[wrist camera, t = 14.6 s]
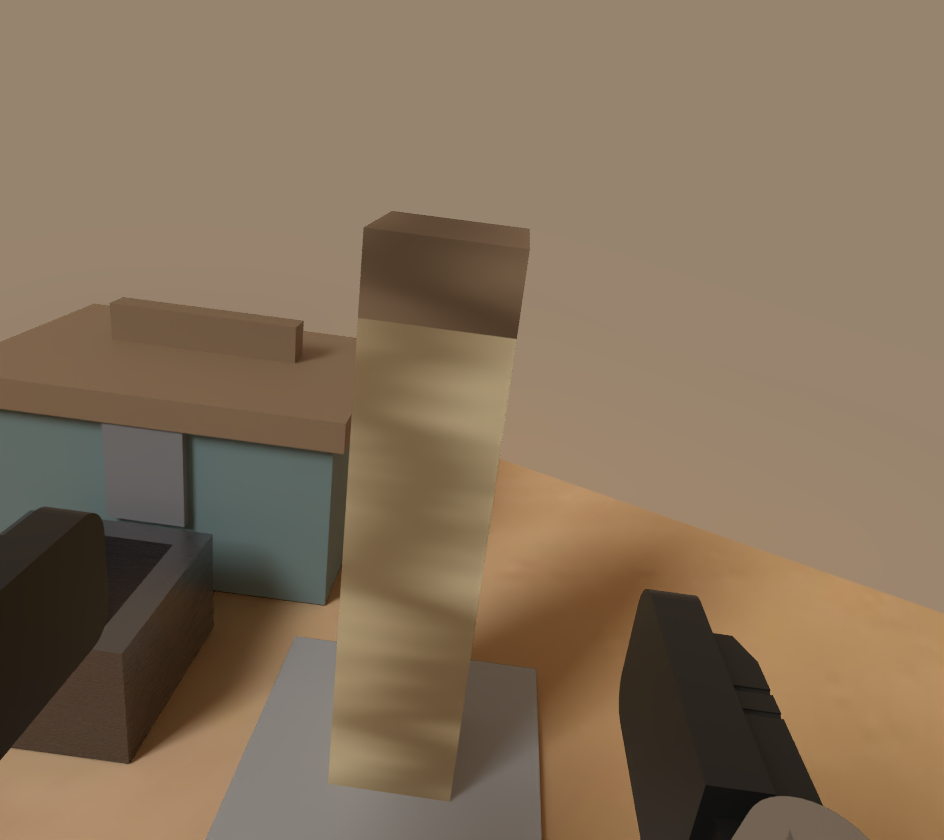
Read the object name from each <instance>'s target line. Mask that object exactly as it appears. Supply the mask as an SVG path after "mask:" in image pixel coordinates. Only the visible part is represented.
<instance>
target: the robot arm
mask: <svg viewBox="0 0 944 840" xmlns="http://www.w3.org/2000/svg"><path fill="white" fill-rule="evenodd" d="M108 609H109V596H108V580H107V565H106V549H105V533H104V525H103V521H102V519H101V517H100V516H99V515H98V514H96V513H90V512H83V511H76V510H68V509H61V508H53V507H41V508H38V509H37V510H35V511H34V512H33V513H31V514H30V515H29V516H27V517H26V518H25V519H24V520H22V521H21V522H20V523H18V524H17V525H16V526H15V527H13V528H12V529H11V530H9V531H8V532H7V533H6V534H4V535H0V760H1V759H2V758H3V756H4V755H5V754H6V753H7V752H8V750H9V749H10V748H11V747H12V746H13V744H14V743H15V742H16V741H17V740H18V738H19V737H20V736H21V735H22V733H23V732H24V731H25V730H26V729H27V727H28V726H29V725H30V724H31V723H32V721H33V720H34V719H35V718H36V717H37V715H38V714H39V713H40V712H41V711H42V709H43V708H44V707H45V706H46V705H47V703H48V702H49V701H50V700H51V698H52V697H53V696H54V695H55V694H56V692H57V691H58V690H59V689H60V688H61V686H62V685H63V684H64V683H65V682H66V680H67V679H68V678H69V677H70V676H71V674H72V673H73V672H74V671H75V670H76V668H77V667H78V666H79V665H80V663H81V662H82V661H83V660H84V659H85V657H86V656H87V655H88V654H89V653H90V651H91V650H92V649H93V648H94V646H95V645H96V644H97V642H98V640H99V639H100V637H101V634H102V632H103V630H104V627H105V624H106V620H107V616H108ZM619 716H620V723H621V729H622V735H623V741H624V746H625V752H626V758H627V764H628V769H629V775H630V781H631V787H632V792H633V798H634V804H635V810H636V815H637V821H638V827H639V832H640V838H641V840H869V839H868V838H867V837H866V836H865V835H864V834H863V833H862V832H861V831H860V830H859V829H857V828H856V827H855V826H854V825H852V824H851V823H850V822H849V821H847V820H846V819H844V818H843V817H841V816H840V815H838V814H837V813H835V812H833V811H832V810H830V809H828V808H826V807H824V806H823V805H822V802H821V800H820V798H819V796H818V794H817V791H816V789H815V787H814V785H813V783H812V780H811V778H810V776H809V774H808V772H807V769H806V767H805V765H804V763H803V761H802V758H801V756H800V754H799V752H798V750H797V747H796V745H795V743H794V741H793V739H792V736H791V734H790V732H789V730H788V728H787V725H786V723H785V721H784V719H781V712H780V710H779V708H778V706H777V704H776V701H775V699H774V697H773V695H770V688H769V686H768V684H767V682H766V679H765V677H764V675H763V673H762V671H761V668H760V666H759V664H758V662H757V661H756V660H755V659H754V658H753V657H752V656H751V655H750V654H749V653H748V652H747V651H746V650H745V649H744V648H743V646H742V645H741V644H740V643H739V642H738V641H737V640H736V639H735V638H734V637H733V636H729V635H722V634H715V633H713V632H712V630H711V627H710V625H709V622H708V620H707V617H706V614H705V612H704V609H703V607H702V604H701V602H700V600H699V598H698V597H697V596H694V595H686V594H679V593H672V592H664V591H657V590H649V589H645V590H644V591H643V593H642V595H641V597H640V600H639V604H638V608H637V612H636V616H635V620H634V624H633V629H632V633H631V637H630V641H629V646H628V650H627V654H626V658H625V663H624V667H623V671H622V676H621V682H620V691H619Z"/></svg>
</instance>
